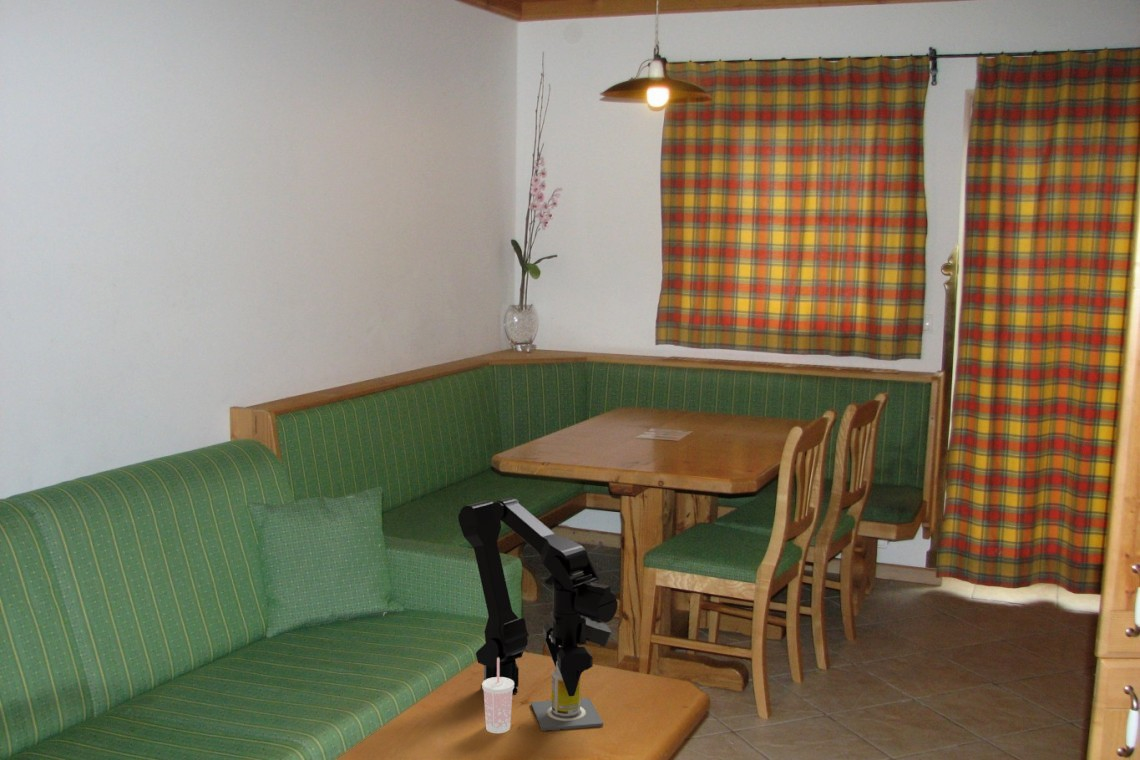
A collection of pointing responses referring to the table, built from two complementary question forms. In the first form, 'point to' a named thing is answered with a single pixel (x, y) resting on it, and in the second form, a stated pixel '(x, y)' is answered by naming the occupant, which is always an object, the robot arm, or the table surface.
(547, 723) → the card
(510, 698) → the beverage cup
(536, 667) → the table surface
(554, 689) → the supplement bottle
